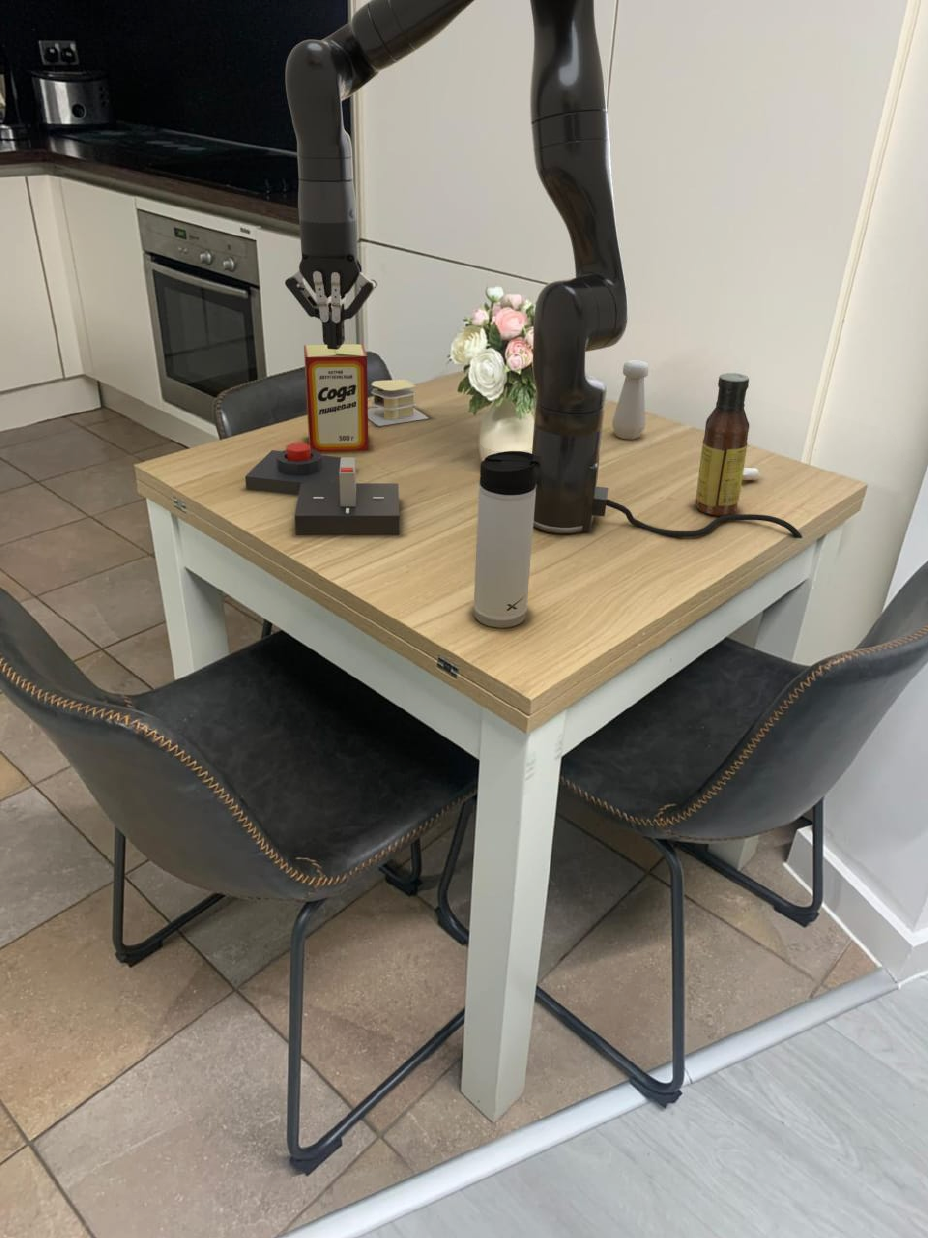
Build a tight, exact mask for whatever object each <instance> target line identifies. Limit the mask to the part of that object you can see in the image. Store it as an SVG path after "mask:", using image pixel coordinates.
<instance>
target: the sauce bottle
mask: <svg viewBox="0 0 928 1238" xmlns="http://www.w3.org/2000/svg"><path fill="white" fill-rule="evenodd" d="M717 384H718V385H717V386H718V394H717V401H716V403H715V408H714V409H713V410H712V412H711V413H710V414H709V415H708V417H707V418H706V420H705V427H704V434H703V439H702V445H701V453H700V460H699V461H700V462H699V468H698V477H697V484H696V490H695V491H696V492H695V506H696V508H697V509H698V510H699V511H700V512H701V513H704V514H708V515H711V516H715V517H721V516H725V515H732V514H735V512H736V511H737V508H738V504H739V503H738V502H739V501H740V498H741V497H740V496H741V491H742V490H741V489H742V482H743V480H742V477H743V471H744V466H745V464H746V456H747V450H748V439H749V438H748V437H749V432H750V422H749V419H748V417H747V413H746V410H745V407H746V405H745V401H746V395H747V390H748V389H749V386H750V385H749V384H750V377H749V376H747V375H746V374H741V373H736V372H727V373H722V374H720V375H719V377H718V383H717Z"/></svg>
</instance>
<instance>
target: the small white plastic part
mask: <svg viewBox="0 0 928 1238" xmlns="http://www.w3.org/2000/svg"><path fill="white" fill-rule="evenodd" d="M759 477H760V472H759V470H758V469H757V468H754V467H745V465H744V471H743V477H742V481H743V480H744V481H756V480H757V479H759Z"/></svg>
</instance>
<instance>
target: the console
mask: <svg viewBox="0 0 928 1238" xmlns="http://www.w3.org/2000/svg"><path fill="white" fill-rule="evenodd" d="M399 488H400V487H399V483H398V482H397V483H395V482H394V483H393V482H392V483H390V482H389V483H388V482H387V483H385V482H384V483H382V482H381V483H378V482H374V483H373V482H371V483H370V482H367V483H366V482H365V483H364V482H362V483H361V482H360V483H359V482H356V502H355V506H341V504H340V483H301V485H300V490H299V495H297V502H296V507H295V511H294V527H295V536H400V492H399V491H400V489H399Z"/></svg>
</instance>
